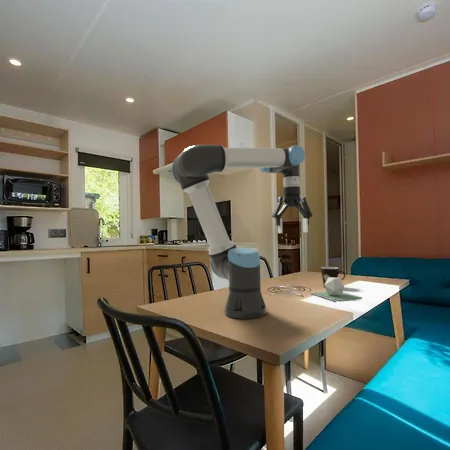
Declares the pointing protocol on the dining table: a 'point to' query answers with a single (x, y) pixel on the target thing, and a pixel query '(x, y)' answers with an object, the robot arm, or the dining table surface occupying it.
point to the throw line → (323, 297)
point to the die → (334, 286)
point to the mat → (339, 298)
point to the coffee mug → (330, 273)
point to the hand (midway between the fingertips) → (293, 232)
